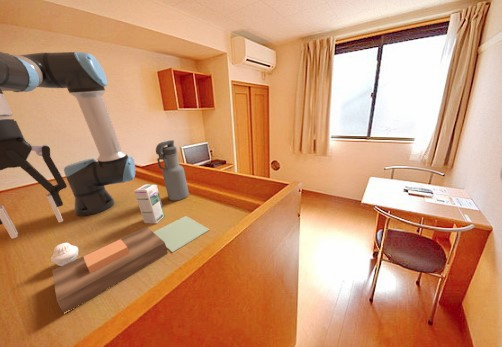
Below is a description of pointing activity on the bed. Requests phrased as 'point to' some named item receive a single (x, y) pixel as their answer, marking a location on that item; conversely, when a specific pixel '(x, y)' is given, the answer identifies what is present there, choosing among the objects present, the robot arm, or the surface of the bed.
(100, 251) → the orange rectangular block
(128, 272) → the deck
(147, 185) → the syrup box
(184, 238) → the mat
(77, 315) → the bed surface
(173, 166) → the water bottle
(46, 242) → the bed surface
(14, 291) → the bed surface
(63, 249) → the white steamed bun
